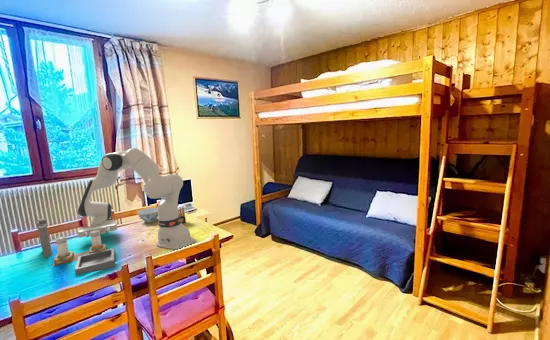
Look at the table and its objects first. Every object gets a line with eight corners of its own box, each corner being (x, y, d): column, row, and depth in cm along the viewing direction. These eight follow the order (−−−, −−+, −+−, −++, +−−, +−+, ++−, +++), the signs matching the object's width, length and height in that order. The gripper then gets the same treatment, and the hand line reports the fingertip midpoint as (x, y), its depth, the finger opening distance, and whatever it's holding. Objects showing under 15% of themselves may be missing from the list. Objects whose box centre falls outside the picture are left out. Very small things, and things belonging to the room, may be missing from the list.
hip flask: (42, 250, 163) (35, 217, 159) (50, 247, 166) (44, 215, 162) (44, 259, 151) (37, 223, 148) (54, 256, 154) (47, 221, 151)
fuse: (71, 258, 148) (67, 237, 146) (61, 262, 144) (57, 240, 142) (67, 256, 150) (64, 235, 148) (57, 260, 147) (53, 238, 144)
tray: (114, 254, 153) (113, 248, 152) (114, 266, 139) (113, 260, 139) (79, 262, 145) (78, 256, 145) (75, 276, 132) (74, 269, 131)
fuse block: (108, 248, 161) (107, 242, 160) (107, 255, 152) (106, 249, 152) (56, 260, 149) (54, 253, 149) (52, 268, 141) (51, 261, 140)
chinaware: (163, 221, 203) (162, 210, 201) (140, 226, 194) (139, 215, 193) (158, 215, 215) (157, 206, 214) (137, 220, 207) (136, 210, 205)
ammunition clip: (170, 226, 191) (168, 209, 189) (169, 225, 193) (167, 208, 191) (186, 222, 197) (184, 206, 195) (185, 222, 199) (183, 205, 196)
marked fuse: (104, 251, 155) (101, 230, 153) (95, 254, 151) (92, 233, 149) (100, 249, 157) (97, 229, 155) (91, 252, 154) (88, 232, 152)
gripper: (77, 225, 169) (74, 232, 157) (116, 218, 179) (116, 224, 167) (79, 235, 170) (76, 243, 158) (117, 227, 180) (117, 234, 168)
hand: (97, 233), depth 162 cm, fingers open, 8 cm apart
